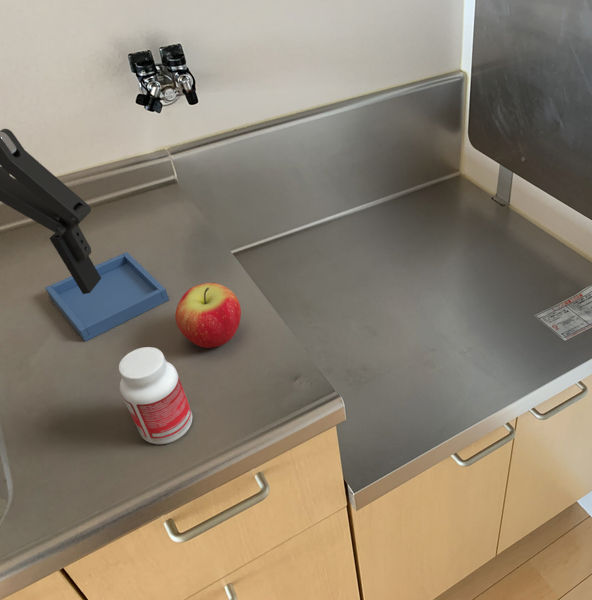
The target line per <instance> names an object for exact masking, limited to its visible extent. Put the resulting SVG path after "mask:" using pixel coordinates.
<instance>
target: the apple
mask: <svg viewBox="0 0 592 600" xmlns="http://www.w3.org/2000/svg"><path fill="white" fill-rule="evenodd" d="M174 316H175V317H174V318H175V324H176V326H177V328H178V330H179V331H180V333H181V334H182V336H184V337H185V338H186V339H187V340H188V341H189V342H191V343H193V344H194V345H196V346H197V347H201V348H204V349H205V348H206V349H211V348H217V347H220V346H223V345H225V344H227V343H229V342H230V341H231V339H232V338H233V337H235V335H236V333H237V331H238V330H239V329H238V328H239V326H240V323H241V319H242V309H241V304H240V300H239V299H238V296H236V293H234V292H233V291H232V290H231V289H230V288H228V287H227V286H226V285H223V284H220V283H217V282H204V283H200V284H197V285H194V286H192V287H190V288H189V289H188V290H187V291H185V292H184V294H183V295H182V296H181V298H180V300H179V301H178V303H177V306H176V309H175V314H174Z"/></svg>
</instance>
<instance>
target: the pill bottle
mask: <svg viewBox="0 0 592 600" xmlns="http://www.w3.org/2000/svg"><path fill="white" fill-rule="evenodd" d="M118 371H119V374H120V376H121V377H120V378H121V379H120V383H119V391H120V394H121V397H122V399H123V401H124V403H125V404H126V407H127V409H128V411H129V413H130V416H131V418H132V420H133V422H134V424H135V427H136V429H137V430H138V433H139V434H140V436H141V438H142V439H143V440H145V441H146V442H148V443H150V444H154V445H167V444H170V443H173V442H175V441H178V440H179V439H180V438H182V437H183V436H184V435H185V434H186V433H187V432H188V431H189V429H190V427H191V426H192V423H193V413H192V410H191V409H192V408H191V406H190V403H189V400H188V398H187V395H186V392H185V390H184V387H183V384H182V382H181V379H180V376H179V373H178V371H177V369H176V367H175V366H174V365H173V364H172V363H170V362H168V360H166V357H165V355H164V353H163V352H162V351H161V350H160V349H159V348H157V347H152V346H145V347H144V346H143V347H140V348H139V347H138V348H136V349H134V350H131V351H130V352H129V353H127V354H125V356H124V357H122V359H121V360H120V362H119V364H118Z"/></svg>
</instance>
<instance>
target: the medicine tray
mask: <svg viewBox="0 0 592 600" xmlns="http://www.w3.org/2000/svg"><path fill="white" fill-rule="evenodd" d="M94 266H95V268H96V270H97V272H98V273H99V275H100V277H101V280H100V281H99V282H98V283H97V285H96V286H95V287H94V288H93V290H92V291H91V292H90V293H87V294H83V293H82V292H81V290H80V288H79V287H78V285H77V283H76V282H75V280H74V278H73V277H72V275H70V276H68V277H66V278H64V279H61V280H59V281H56V282H54V283H52V284H50V285H47V286H45V287H44V288H45V291H46V293H47V295H48V297H49V299H50V300H51V301H52V303H53V304H54V305H55V306H56V307H57V309H58V310H59V312H61V314H62V315H63V316H64V318H65V319H66V321H68V323H69V324H70V325H71V326H72V327H73V329H74V330H75V331H76V332H77V333H78V335H79V336H80V337H81V339H82V340H83V341H84V342H88V341H89V340H92V339H94V338H96V337H97V336H100V335H101V334H103V333H106V332H108V331H109V330H112V329H114V328H116V327H118V326H119V325H121V324H123V323H126V322H128V321H130V320H131V319H134V318H136V317H138V316H140V315H142V314H144V313H146V312H148V311H149V310H152V309H154V308H157V307H158V306H159V305H162V304H164V303H166V302H168V301H170V298H169V295H168V292H167V289H166V288H165V287H164V286H163V285H162V284H161V283H160V282H159V281H158V280H157V279H156V278H155V277H154V276H153V275H151V274H150V272H149V271H147V270H146V269H145V268H144V267H143V266H142V265H141V263H139V262H138V261H137V259H135V258H134V257H133V256H132V255H131V254H130V253H129V252H128V251H126V252H123V253H120V254H119V255H117V256H114V257H112V258H109V259H107V260H105V261H103V262H101V263H98V264H96V265H94Z"/></svg>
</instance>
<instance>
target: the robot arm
mask: <svg viewBox="0 0 592 600" xmlns="http://www.w3.org/2000/svg"><path fill="white" fill-rule="evenodd" d="M0 203H3V204H4V205H5V206H8V207H9V208H11V209H13V210H14V211H17V212H18V213H20V214H22V215H24V216H25V217H27V218H29V219H30V220H32V221H34V222H36V223H37V224H39V225H41V226H43V227H45V228H46V229H48V230H50V231H51V232H52V233H53V234H52V235H51V236H50V237H49V240H50V242H51V244H52V245H53V247H54V249H55V250H56V252H57V254H58V255H59V257H60V259H61V261H62V262H63V264H64V266H65V267H66V269H67V270H68V271H69V273H70V276H72V277H73V278H74V280H75V282H76V283H77V285H78V287H79V288H80V290H81V292H82V293H83V294H87V293H90V292H91V291H92V290H93V288H94V287H95V286H96V285H97V283H98V282H99V281H100V280H101V277H100V275H99V273H98V272H97V270H96V268H95V266H96V265H94V263H93V261H92V259H91V258H90V255H91V254H92V247H91V245H90V244H89V242H88V240H87V239H86V237H85V235H84V233H83V231H82V230H81V228H80V225H79V224H81V222H82V221H83V220H84V219H86V217H87V216H88V215H89V214H90V213H91V211H92V208H91V206H90V205H89V204H88V203H87V202H86V201H84V199H82V198H81V197H80V196H79V195H78V194H77V193H75V192H74V191H73V190H72V189H71V188H70V187H68V186H67V185H66V184H65V183H64V182H63V181H62V180H60V179H59V178H58V177H56V175H54V174H53V173H52V172H51V171H50V170H48V168H46V167H45V166H44V165H43V164H41V162H39V160H37V159H36V158H35V157H34V156H32V154H30V153H29V152H28V151H26V150H25V148H24V147H23V146H22V144H21V142H20V141H19V139H18V138H17V136H15V134H14V132H12V130H10V129H9V128H2V129H0Z"/></svg>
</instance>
